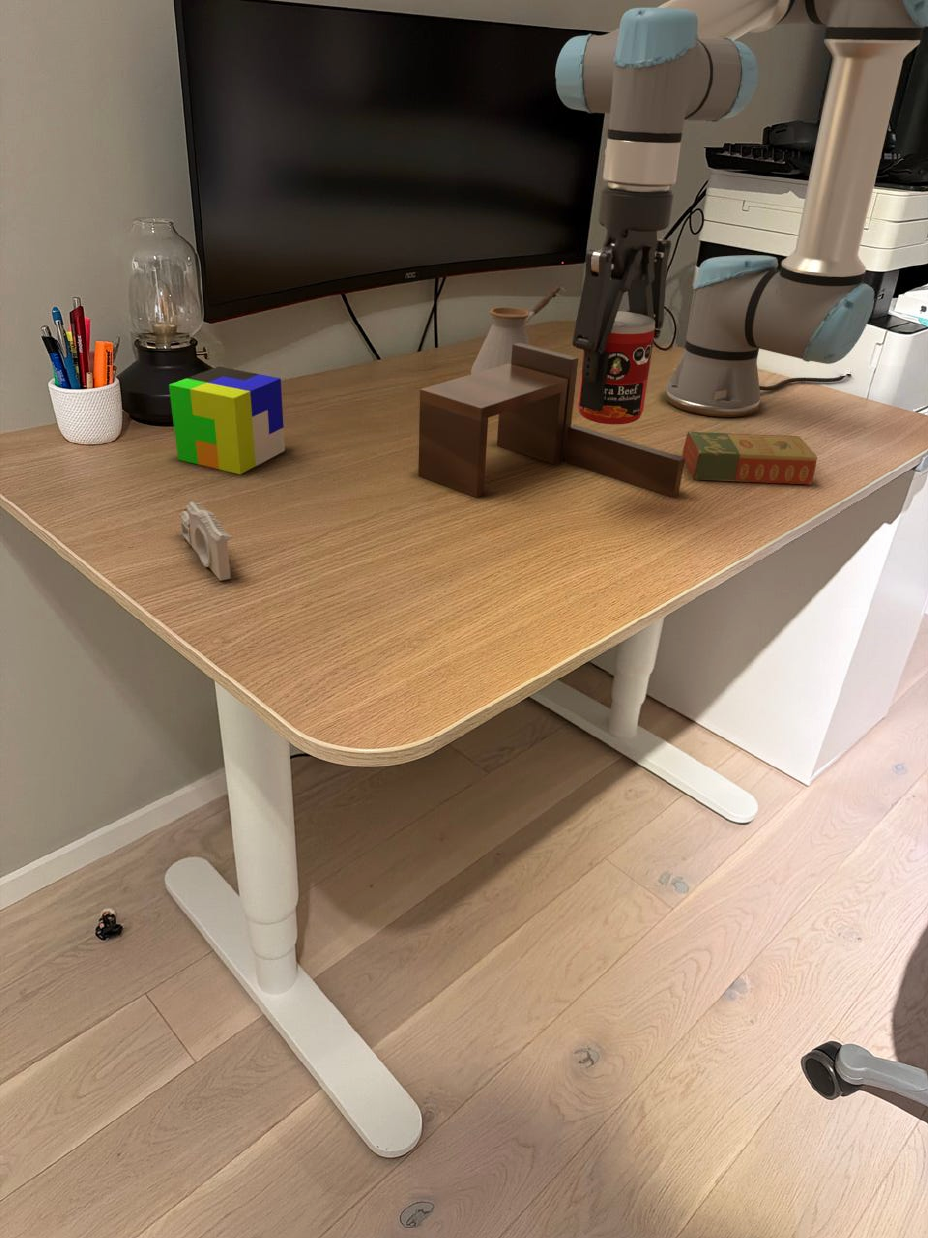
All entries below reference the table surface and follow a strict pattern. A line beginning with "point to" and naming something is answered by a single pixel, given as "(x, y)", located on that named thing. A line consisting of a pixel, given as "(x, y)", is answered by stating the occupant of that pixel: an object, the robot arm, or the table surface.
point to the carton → (749, 458)
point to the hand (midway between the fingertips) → (611, 399)
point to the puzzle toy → (228, 419)
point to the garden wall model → (207, 539)
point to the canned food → (625, 370)
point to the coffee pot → (507, 334)
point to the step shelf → (526, 426)
